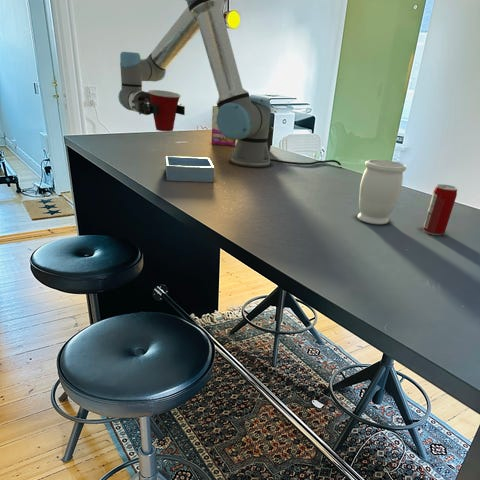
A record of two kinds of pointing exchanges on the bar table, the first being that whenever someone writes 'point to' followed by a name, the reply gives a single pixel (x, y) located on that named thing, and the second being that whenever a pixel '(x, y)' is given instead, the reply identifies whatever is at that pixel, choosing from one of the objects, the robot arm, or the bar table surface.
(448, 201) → the soda can
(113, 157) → the bar table surface
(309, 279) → the bar table surface
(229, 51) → the robot arm
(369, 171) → the jar
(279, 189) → the bar table surface
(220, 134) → the candy bar box
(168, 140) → the bar table surface
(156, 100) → the plastic cup
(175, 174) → the tray
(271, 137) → the pen holder
